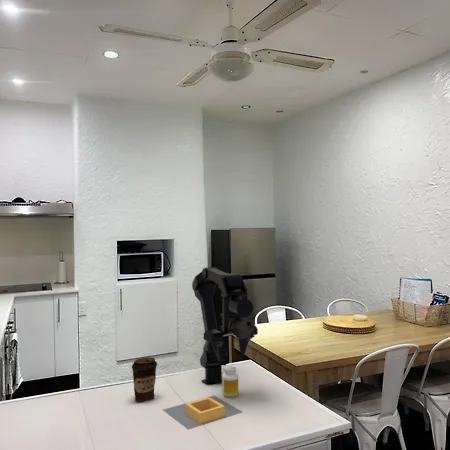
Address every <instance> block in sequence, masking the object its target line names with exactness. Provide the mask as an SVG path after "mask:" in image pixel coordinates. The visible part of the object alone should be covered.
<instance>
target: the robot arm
mask: <svg viewBox="0 0 450 450" xmlns="http://www.w3.org/2000/svg"><path fill="white" fill-rule="evenodd" d="M191 285H192V286H191V287H192V291H193V292H194V295H195V296H194V297H196V299H197V300H198V302H199V303H200V304H199V305H200V308H201V315H202V322H203V328H204V332H203V340H204V341H205V342H204V344H203V348H202V350H203V352H202V353H201V357H200V358H199V364H200V366H201V367H202V368H203V369H204V371H205V372H204V374H205V377H204V379H201V382H202V383H204V384H206V385H208V386H214V385H218V384H222V376H223V371H222V367H223V366H227V362H228V355H229V353H228V350H227V348H226V341H225V340H224V338H225V337H230V336H235V337H236V338H237V339H238V343H239V346H238V347H239V353H240V356H241V357H244V356H245V352H246V350H247V349H248V348H247V347H248V345H249V342H250V341H251V340H252V339H253V338H255V336H256V335H258V327H257V326H256V324H255V322H254V320H248V321H244V320H243V318H245V319H246V318H249V316H251V315H252V314H253V312H254V311H253V310H254V306H253V305H254V304H253V303H252V302H251V300H249V299H248V295H249V294H248V289H247V285H246V283H245V282H244V278H243V277H242V275H241V274H240V273H227V272H225V271H222V270H220V269H218V268H217V267H214V266H212V267H209V266H208V267H204V268H202V270H201V272H199V273H198V274H197V275H196V276H194V279H193V281H192V283H191ZM217 285H218V289H219V290H220V291H221V294H220V296H221V297H222V313H220V315H219V316H220V318H222V325H220V327H219V328H220V330H218V324H217V318H216V312H215V307H214V301H213V297H214V295H215V293H216V288H217V287H216V286H217Z"/></svg>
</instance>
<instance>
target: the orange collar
mask: <svg viewBox="0 0 450 450" xmlns="http://www.w3.org/2000/svg"><path fill="white" fill-rule="evenodd" d="M210 397H211V396H208V398H207V397H204V399H203V398H201V400H200V399H196V400H197V401H196V400H193V402H192V401H189V402H190V403H189V402H185V403H186V404H185V403H184V404H185V414H186V415H188V416H189V417H190V418H192V419H193V420H195V421H196V422H198V423H199V424H203V423H206V422H209V421H212V420H215V419H218V418H222V417H225V406H223V405H222V404H220V403H218V402H217V401H215V400H213V399H211V398H210ZM206 409H208V410H206ZM202 410H204V411H202Z"/></svg>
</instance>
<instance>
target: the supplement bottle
mask: <svg viewBox="0 0 450 450" xmlns="http://www.w3.org/2000/svg"><path fill="white" fill-rule="evenodd" d="M223 372H224V373H222V383H221V384H222V385H221V390H222V391H221V396H222V397H223V398H225V399H231V400H232V399H237V398H238V397H239V395H240V394H239V374H238V373H237V368H236V366H234V365H233V366H232V365H226V366H224V368H223Z"/></svg>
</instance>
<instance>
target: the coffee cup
mask: <svg viewBox="0 0 450 450" xmlns="http://www.w3.org/2000/svg"><path fill="white" fill-rule="evenodd" d="M157 366H158V362H157V361H156V358H155V357H146V356H145V357H141V358H137V359H135V360H134V361H133V363H132V365H131V369H132V379H133V390H134V391H133V393H134V401H135V402H137V403H145V402H150V401H153V400H155V384H156V379H157V378H156V375H157V374H156V372H157Z"/></svg>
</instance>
